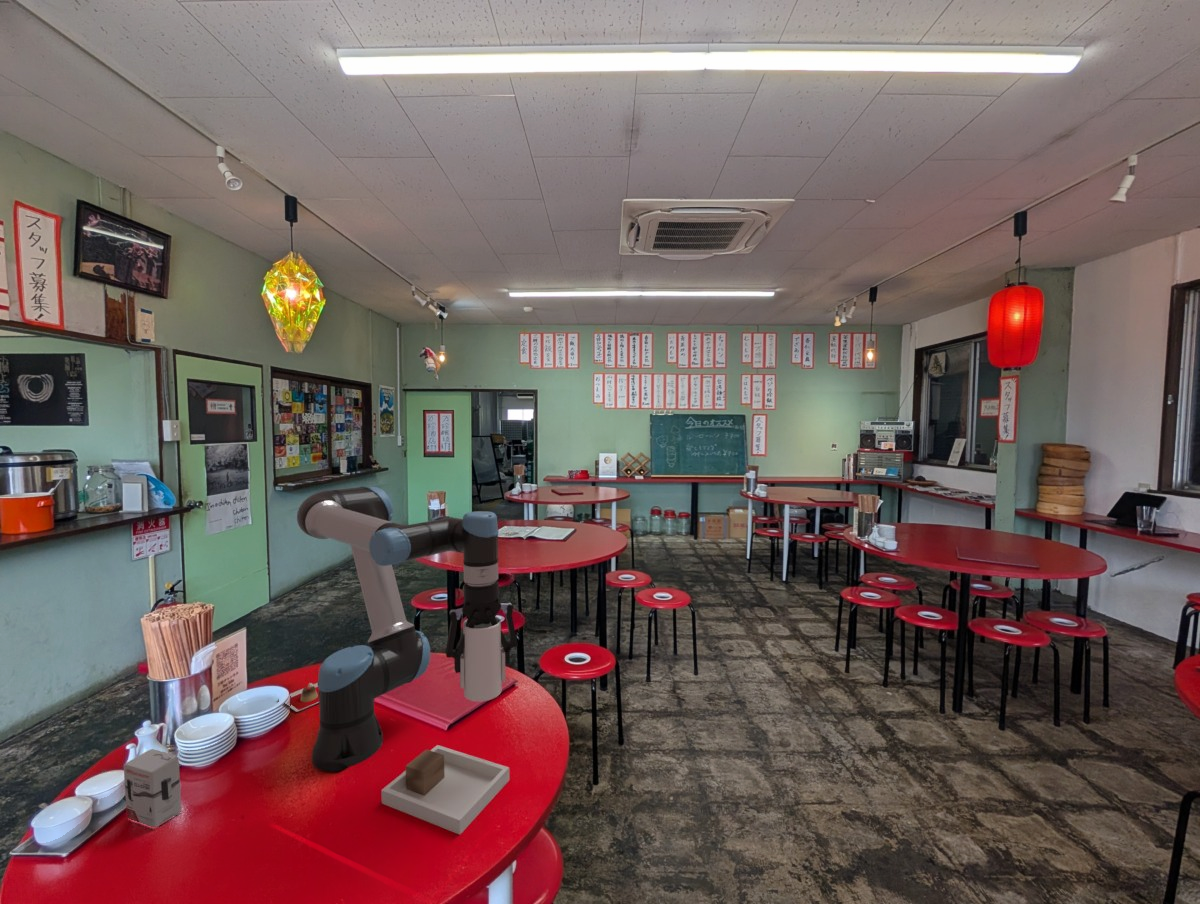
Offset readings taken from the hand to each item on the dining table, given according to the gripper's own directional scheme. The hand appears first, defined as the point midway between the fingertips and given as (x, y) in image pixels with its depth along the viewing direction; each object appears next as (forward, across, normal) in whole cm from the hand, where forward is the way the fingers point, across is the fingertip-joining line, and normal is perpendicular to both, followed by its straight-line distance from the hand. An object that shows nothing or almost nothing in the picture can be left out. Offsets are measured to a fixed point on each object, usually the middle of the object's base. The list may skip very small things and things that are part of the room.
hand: (482, 681), depth 111 cm
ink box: (+21, -64, +10) cm, 67 cm away
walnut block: (+19, -12, -1) cm, 23 cm away
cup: (+2, 0, 0) cm, 2 cm away
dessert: (+21, -44, +50) cm, 70 cm away
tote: (+20, -8, -5) cm, 22 cm away
